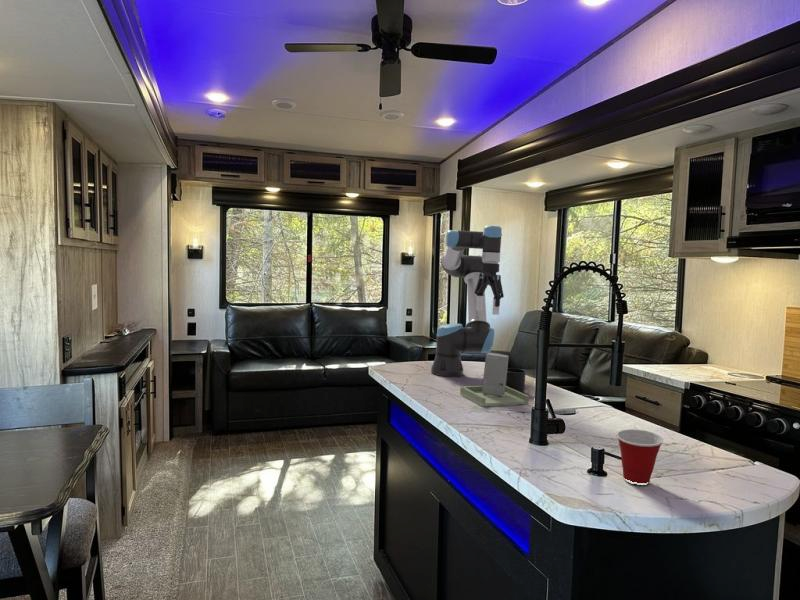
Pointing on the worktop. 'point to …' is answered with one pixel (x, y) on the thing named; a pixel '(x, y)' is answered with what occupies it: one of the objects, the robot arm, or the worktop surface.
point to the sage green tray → (493, 396)
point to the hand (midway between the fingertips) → (487, 312)
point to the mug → (516, 379)
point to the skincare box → (495, 374)
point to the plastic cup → (638, 453)
